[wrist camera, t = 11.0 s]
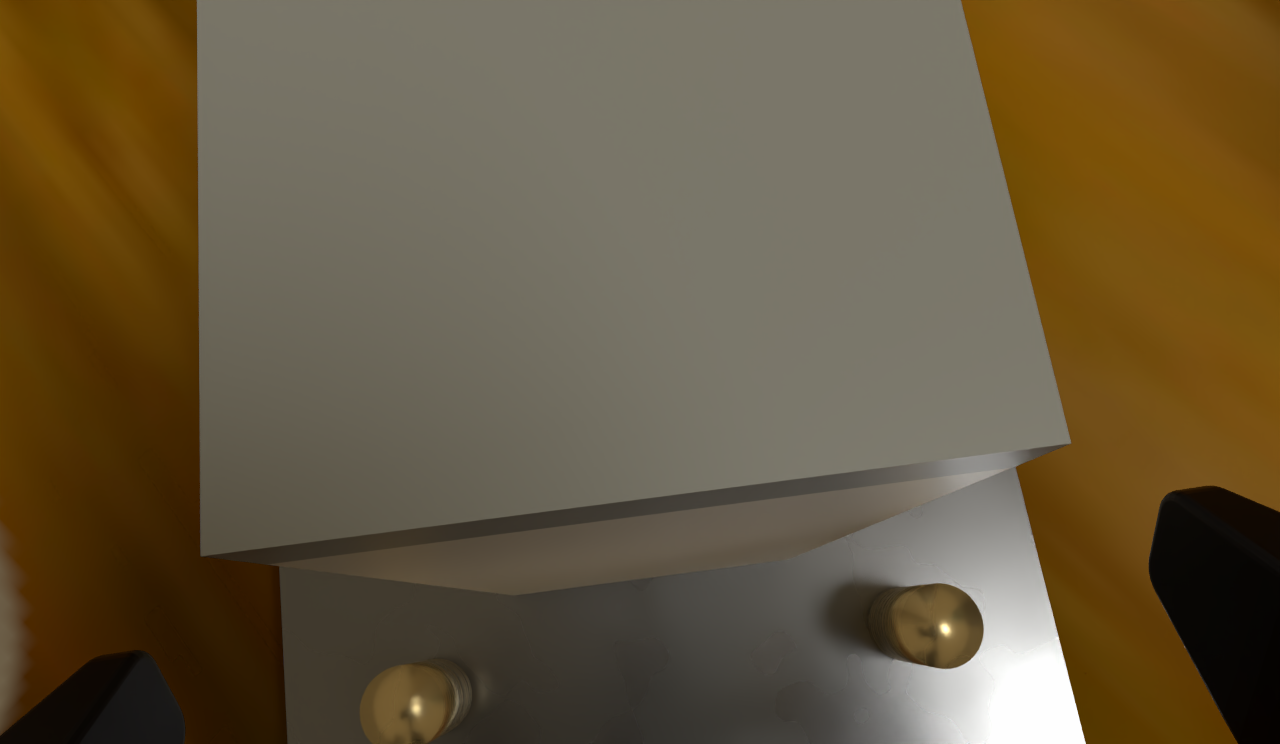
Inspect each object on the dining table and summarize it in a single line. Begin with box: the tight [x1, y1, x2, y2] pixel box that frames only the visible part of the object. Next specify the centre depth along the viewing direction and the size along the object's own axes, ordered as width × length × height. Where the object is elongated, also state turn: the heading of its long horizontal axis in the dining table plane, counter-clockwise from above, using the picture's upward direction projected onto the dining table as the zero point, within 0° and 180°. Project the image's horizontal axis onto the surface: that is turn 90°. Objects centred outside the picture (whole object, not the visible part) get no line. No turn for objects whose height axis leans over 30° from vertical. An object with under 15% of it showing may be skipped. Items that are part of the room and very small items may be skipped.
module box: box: [197, 0, 1071, 595], centre depth 13 cm, size 6×6×13 cm
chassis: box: [279, 467, 1085, 744], centre depth 18 cm, size 15×15×4 cm
